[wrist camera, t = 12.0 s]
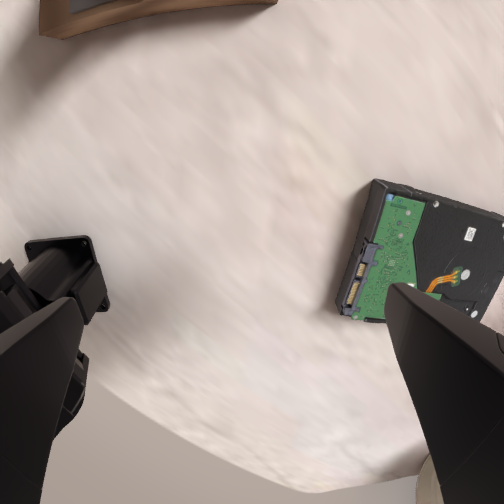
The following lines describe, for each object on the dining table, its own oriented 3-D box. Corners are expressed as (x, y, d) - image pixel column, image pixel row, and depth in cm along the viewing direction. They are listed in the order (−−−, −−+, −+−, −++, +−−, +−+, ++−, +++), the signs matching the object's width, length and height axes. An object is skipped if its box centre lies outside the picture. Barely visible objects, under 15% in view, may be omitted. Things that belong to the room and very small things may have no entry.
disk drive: (505, 213, 22) (368, 175, 20) (525, 225, 19) (385, 186, 18) (465, 310, 27) (331, 302, 25) (478, 327, 24) (340, 325, 23)
